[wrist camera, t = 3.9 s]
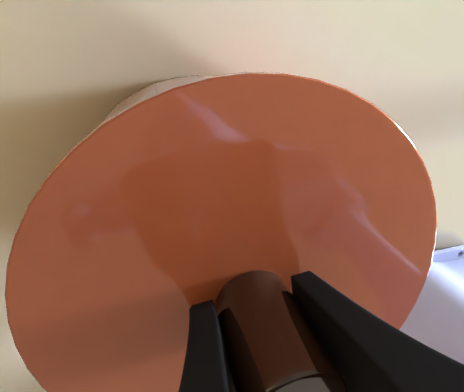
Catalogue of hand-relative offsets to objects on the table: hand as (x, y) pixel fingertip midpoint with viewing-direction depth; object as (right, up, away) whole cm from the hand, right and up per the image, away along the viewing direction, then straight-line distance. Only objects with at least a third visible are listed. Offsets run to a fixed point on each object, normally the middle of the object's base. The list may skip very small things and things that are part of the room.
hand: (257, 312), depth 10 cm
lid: (0, 0, +1) cm, 1 cm away
